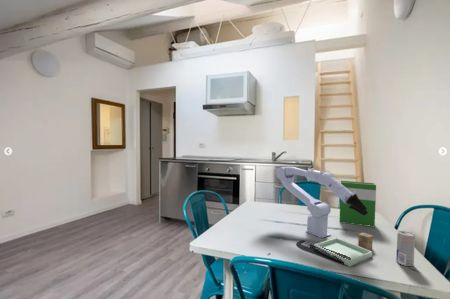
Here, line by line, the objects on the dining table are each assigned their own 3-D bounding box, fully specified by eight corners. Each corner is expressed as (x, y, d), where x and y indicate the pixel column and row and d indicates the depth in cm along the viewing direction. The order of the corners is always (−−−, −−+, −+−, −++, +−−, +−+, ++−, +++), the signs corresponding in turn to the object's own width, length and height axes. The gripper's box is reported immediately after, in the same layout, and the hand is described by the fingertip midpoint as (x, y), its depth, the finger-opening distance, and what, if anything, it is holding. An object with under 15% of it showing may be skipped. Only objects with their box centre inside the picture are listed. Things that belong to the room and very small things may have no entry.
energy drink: (405, 260, 92) (407, 230, 91) (417, 267, 86) (418, 236, 86) (392, 260, 92) (394, 230, 91) (403, 267, 86) (405, 236, 86)
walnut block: (358, 247, 103) (358, 234, 102) (363, 245, 105) (363, 232, 104) (367, 250, 99) (367, 237, 99) (372, 248, 101) (372, 235, 101)
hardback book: (339, 221, 136) (341, 182, 135) (339, 218, 142) (340, 180, 142) (374, 227, 128) (376, 185, 127) (372, 223, 135) (374, 183, 134)
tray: (314, 249, 99) (314, 244, 99) (336, 241, 107) (336, 237, 107) (349, 267, 86) (349, 261, 86) (372, 256, 94) (372, 251, 94)
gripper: (344, 180, 102) (372, 202, 93) (348, 189, 113) (373, 209, 104) (332, 190, 103) (359, 213, 94) (337, 199, 114) (361, 220, 105)
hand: (365, 212), depth 99 cm, fingers open, 7 cm apart
